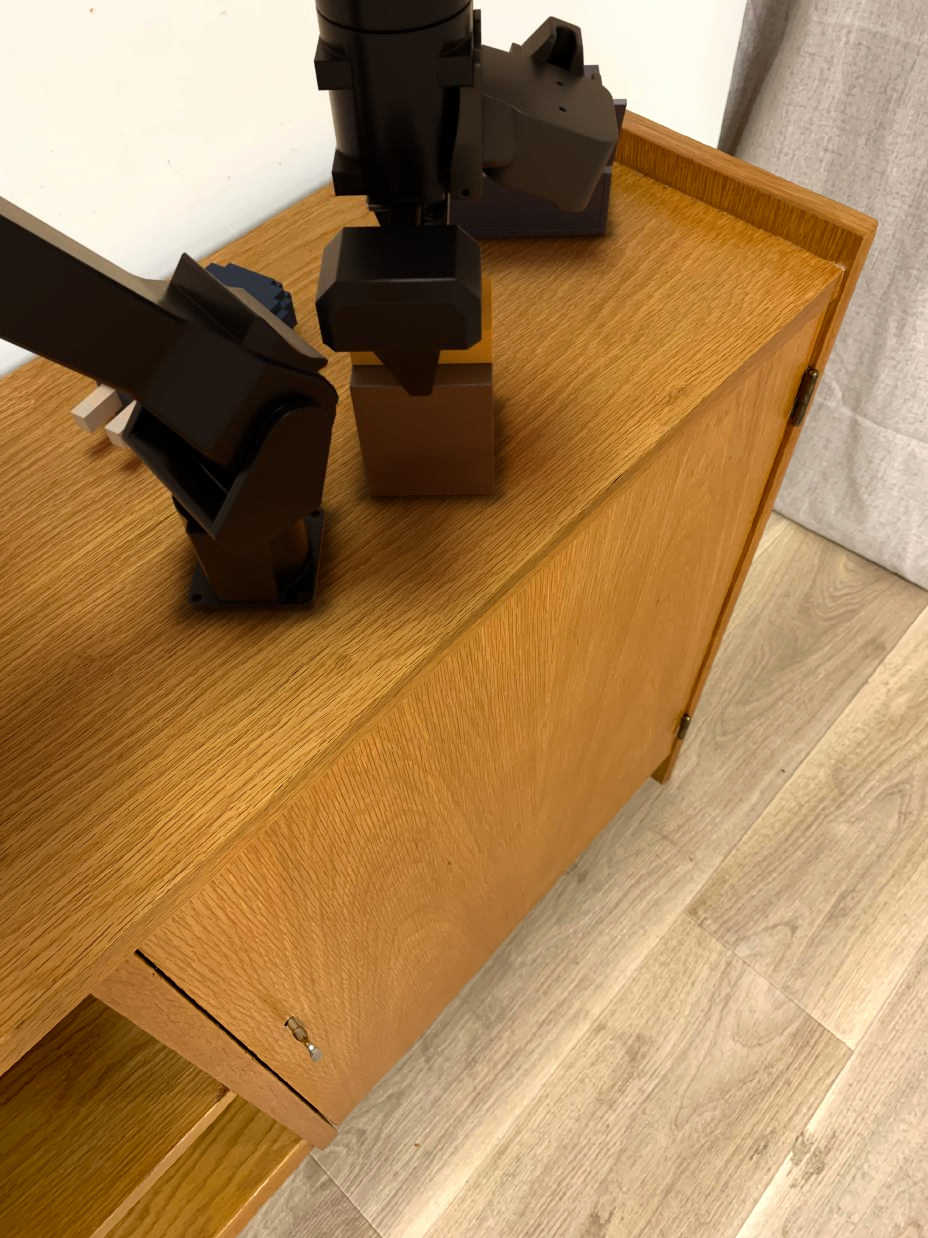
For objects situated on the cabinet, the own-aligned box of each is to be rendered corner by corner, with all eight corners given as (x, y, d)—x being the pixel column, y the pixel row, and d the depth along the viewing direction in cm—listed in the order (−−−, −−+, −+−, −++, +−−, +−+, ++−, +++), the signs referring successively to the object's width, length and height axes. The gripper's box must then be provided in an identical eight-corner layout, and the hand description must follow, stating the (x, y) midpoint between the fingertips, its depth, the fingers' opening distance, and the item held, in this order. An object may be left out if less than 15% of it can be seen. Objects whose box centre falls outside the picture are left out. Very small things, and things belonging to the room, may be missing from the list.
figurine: (28, 380, 50) (200, 237, 57) (59, 434, 53) (218, 294, 60) (145, 434, 47) (311, 278, 54) (170, 488, 51) (323, 335, 58)
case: (605, 234, 63) (613, 161, 58) (435, 238, 63) (430, 165, 59) (592, 135, 70) (599, 63, 65) (440, 139, 70) (436, 68, 66)
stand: (493, 494, 50) (492, 384, 43) (369, 496, 50) (348, 386, 43) (493, 406, 53) (492, 292, 47) (377, 408, 54) (359, 295, 47)
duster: (492, 311, 46) (492, 259, 43) (492, 363, 44) (492, 312, 41) (357, 313, 46) (349, 262, 44) (351, 365, 44) (342, 315, 41)
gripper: (642, 127, 27) (595, 479, 40) (598, -109, 37) (571, 232, 50) (276, 136, 27) (348, 482, 40) (333, -100, 38) (375, 236, 51)
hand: (423, 344), depth 45 cm, fingers closed on stand, 7 cm apart
